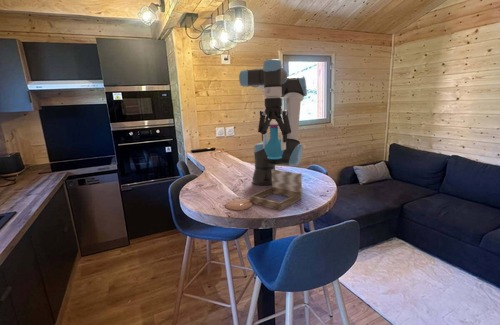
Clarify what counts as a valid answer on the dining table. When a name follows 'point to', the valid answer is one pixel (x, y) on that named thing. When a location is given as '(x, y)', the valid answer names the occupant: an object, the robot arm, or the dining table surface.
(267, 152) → the perfume bottle
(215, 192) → the dining table surface
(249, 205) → the saucer
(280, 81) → the robot arm
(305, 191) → the dining table surface
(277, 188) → the frame
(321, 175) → the dining table surface
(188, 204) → the dining table surface
